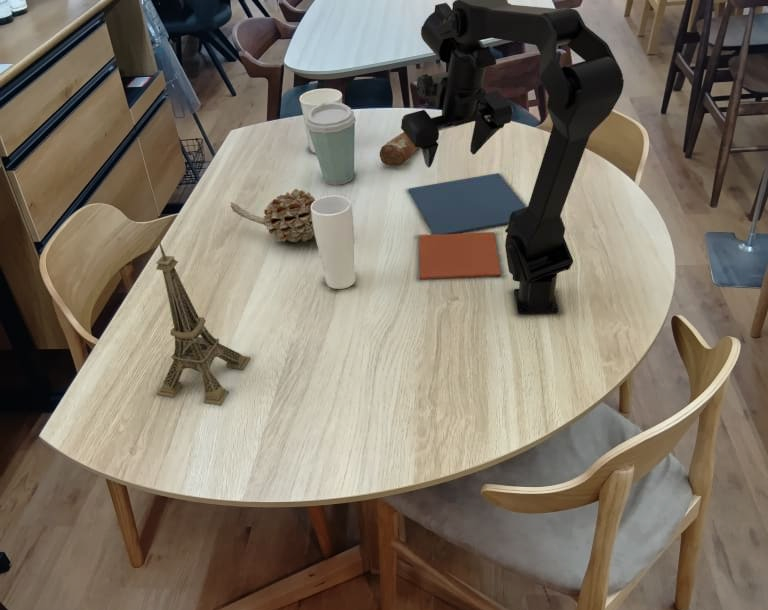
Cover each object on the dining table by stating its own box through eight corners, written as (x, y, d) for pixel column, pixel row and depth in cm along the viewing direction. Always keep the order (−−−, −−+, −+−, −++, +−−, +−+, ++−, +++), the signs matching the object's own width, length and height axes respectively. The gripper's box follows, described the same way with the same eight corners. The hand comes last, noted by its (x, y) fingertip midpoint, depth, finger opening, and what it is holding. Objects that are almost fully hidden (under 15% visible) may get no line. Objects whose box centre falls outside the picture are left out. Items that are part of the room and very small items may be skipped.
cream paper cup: (301, 144, 162) (293, 94, 154) (338, 135, 165) (332, 85, 157) (315, 159, 155) (308, 107, 147) (353, 149, 158) (348, 98, 150)
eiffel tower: (220, 405, 97) (172, 258, 80) (157, 394, 100) (96, 250, 83) (250, 358, 104) (211, 214, 87) (190, 350, 107) (141, 208, 90)
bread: (378, 168, 150) (376, 144, 146) (414, 134, 162) (413, 111, 158) (403, 172, 148) (402, 147, 144) (438, 138, 160) (437, 114, 156)
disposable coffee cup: (368, 183, 145) (362, 113, 135) (321, 194, 143) (312, 125, 132) (352, 164, 152) (345, 97, 142) (307, 175, 150) (297, 107, 140)
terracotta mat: (500, 276, 116) (500, 273, 116) (419, 279, 117) (419, 276, 117) (493, 234, 126) (493, 232, 126) (419, 237, 127) (419, 235, 127)
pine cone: (342, 230, 131) (336, 183, 124) (325, 256, 125) (318, 208, 118) (242, 220, 137) (231, 174, 130) (220, 244, 130) (207, 198, 123)
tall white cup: (355, 294, 115) (345, 216, 105) (317, 291, 116) (304, 214, 106) (363, 272, 120) (355, 195, 110) (327, 270, 121) (316, 194, 111)
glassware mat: (534, 219, 129) (534, 217, 129) (435, 237, 127) (435, 235, 127) (498, 175, 144) (498, 173, 143) (408, 190, 141) (408, 188, 141)
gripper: (488, 39, 112) (472, 120, 125) (389, 63, 106) (383, 144, 119) (524, 77, 107) (503, 157, 120) (422, 104, 101) (412, 184, 114)
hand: (450, 159), depth 118 cm, fingers open, 9 cm apart
